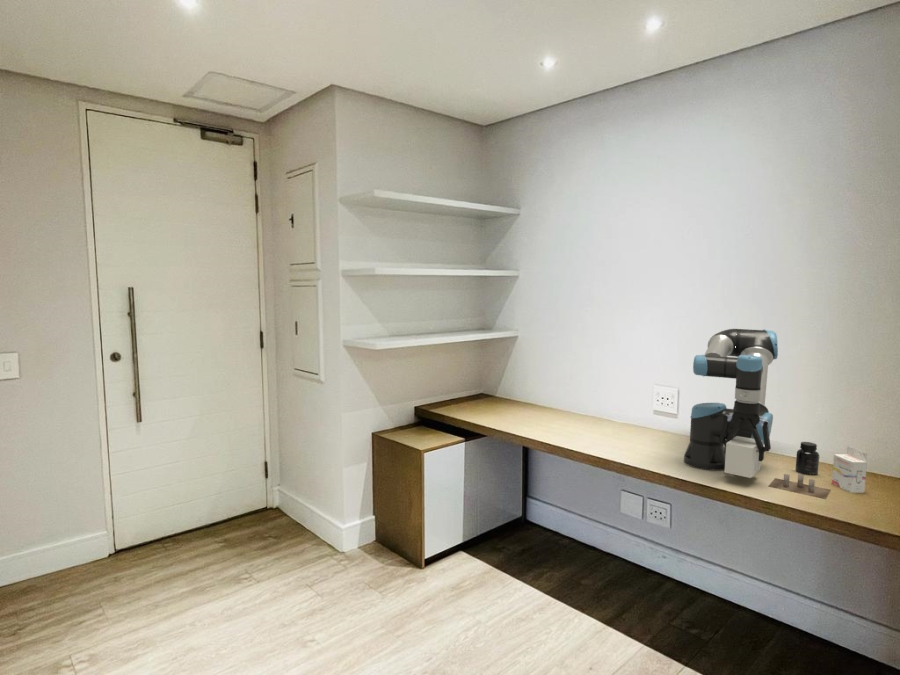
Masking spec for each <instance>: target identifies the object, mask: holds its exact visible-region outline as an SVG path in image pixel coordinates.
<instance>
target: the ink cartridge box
mask: <svg viewBox="0 0 900 675" xmlns="http://www.w3.org/2000/svg"><path fill="white" fill-rule="evenodd" d="M854 452H855V453H854ZM867 455H868V454H867V452H866V451H863V450H861V449H858V448H856V447H853V446H850V445H847V446H846V453H841V454H840V453H839V454H838V453H837V454H836V453H834V454H833V465H832V476H831V484H832V485H833V486H837V487H838V488H841V489H843V490H844V491H847V492H849V493H851V494H855V493H856V494H857V493H858V494H859V493H860V494H861V493H865V490H866V489H865V488H866V477H867V468H868V467H867V466H868V462H867V460H868V459H867V458H868V456H867Z"/></svg>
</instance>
